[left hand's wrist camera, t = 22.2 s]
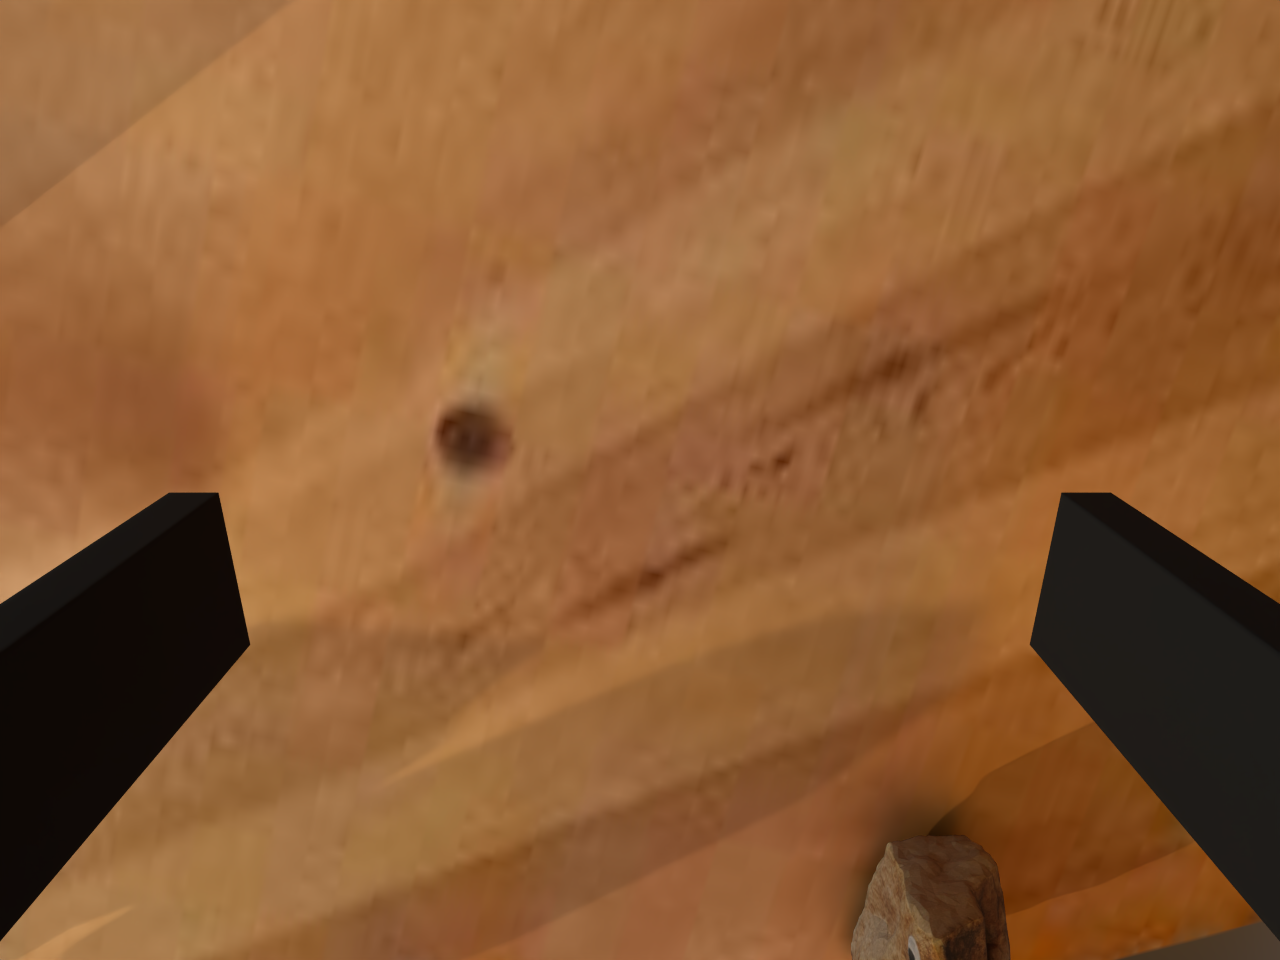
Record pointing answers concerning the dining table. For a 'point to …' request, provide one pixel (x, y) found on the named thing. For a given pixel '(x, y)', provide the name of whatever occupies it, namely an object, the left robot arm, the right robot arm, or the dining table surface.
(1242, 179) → the dining table surface
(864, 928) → the decorative rock
